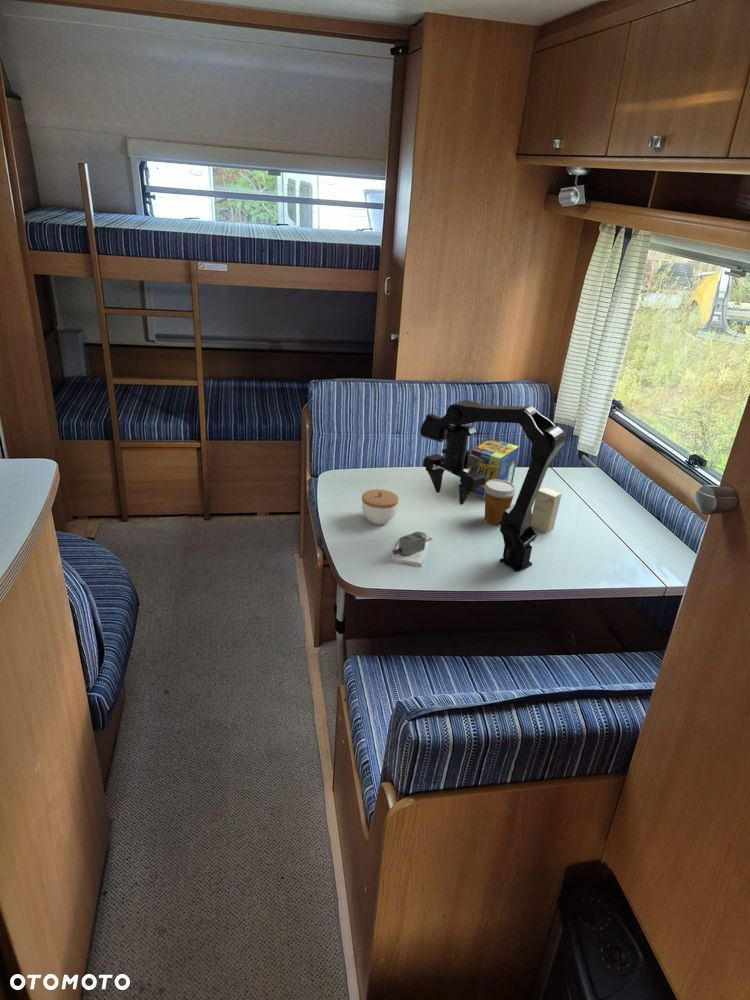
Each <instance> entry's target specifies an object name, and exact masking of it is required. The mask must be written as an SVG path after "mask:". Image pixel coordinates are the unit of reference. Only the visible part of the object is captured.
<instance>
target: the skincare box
mask: <svg viewBox="0 0 750 1000" xmlns="http://www.w3.org/2000/svg"><path fill="white" fill-rule="evenodd" d="M562 495H563V493H562V492H559V491H557V490H554V489H552V488H549V487H547V486H543V487H540V489H539V491H538V494H537V496H536V499H535V501H534V504H533V507H532V508H533V509H532V519H531V526H532V528H533V529H536V530H539V531H541V532H543V533H545V532H546V533H549V532H551V531H552V530H554V528H555V524H556V520H557V515H558V512H559V506H560V502H561V499H562Z"/></svg>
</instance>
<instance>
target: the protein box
mask: <svg viewBox="0 0 750 1000" xmlns="http://www.w3.org/2000/svg"><path fill="white" fill-rule="evenodd" d="M519 450H520V446H518V445H515V444H511V443H508V442H505V441H501V440H498V439H494V438H490V439H488V440H487V441H484V442H483V443H481V444H479V445H478V446H476V447H475V448H473V449H471V451H470V454H472V455H475V456H477V457H479V458H480V460H479V462H478V465H477V468H474V467H470V466H469V469H468V471H467V472H471V471H476V472H478V473H481V474H483V475H484V476H485V483H484V485H481V486H478V487H475V488H473V489H472V490H471V492H470V493H469V495H472V496H474V497H477V498H481V499H484V500H485V489H484V486H485V485H486V483H487V482H488V481H489V480H495V479H496V480H505V481H508V482H510V483H512V484H513V482H514V477H515V473H516V466H517V460H518V454H519Z"/></svg>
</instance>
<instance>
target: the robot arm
mask: <svg viewBox="0 0 750 1000" xmlns="http://www.w3.org/2000/svg"><path fill="white" fill-rule="evenodd" d="M478 422H480V423H481V422H483V423H502V424H503V423H505V424H519V426H521V428H522V430H523V431H524V434H525V436H526V438H527V439H528V440H529V441H530V442H531V443H532V445H531V450H530V451H531V452H530V454H531V462H530V464H529V467H528V469H527V472H526V474H525V477H524V480H523V483H522V485H521V488H520V490H519V493H518V494H517V495H518V496H517V498H516V501H515V503H514V504H511V506H510V507H509V508H508V509H507V510H505V511H504V513H503V517H502V520H501V522H500V523H499V524H501V525H499V526H500V527H499V531H500V534H501V535H502V538H503V543H504V546H503V552H502V558H500V559H499V562H500V563H502V564H503V565H505V566H507V567H508V568H511V569H512V570H514V571H516V572H520V571H522V570H525V569H526V568H529V567H530V566H533V562H531V561H530V559H531V555H532V549H533V546H532V545H531V543H532V542H534V541H535V540H536V538H537V537H538V534H537V533H536V531H535V530H534V527H532V526H531V519H532V512H533V509H532V508H533V507H534V503H535V499H536V496H537V494H538V491H539V489H540V488H541V486H542V483H543V481H544V479H545V475H546V474H547V472H548V468H549V465H550V464H551V462H552V461H553V460H554V458H555V457H556V456H557V455H558V453H559V452H560V450H561V449H562V448H563V445H564V444H565V442H566V438H567V435H566V434H565V432H564V430H563V429H562V428H561V427H559V426H556V425H555V423H554V422H552V420H550V419H549V418H548V417H546V416H545V415H543V414H542V413H540V412H539V411H538V410H537V409H536V408H535V407H534V406H531V405H526V406H519V405H516V406H515V405H514V406H513V405H485V404H481V403H479V402H478V401H474V400H473V401H472V400H469V399H464V400H463V399H462V400H459V401H458V402H455V403H452V404H450V405H449V406H448V407H447V410H446V413H445V415H443V416H439V415H436V414H433V413H428V414H426V415H425V419H424V420H423V422H422V425H421V426H420V430H419V431H420V432H419V433H420V436H421V437H422V438H425V439H428V440H432V441H435V442H439V443H442V442H443V441H445V448H442V449H441V453H442V454H444V456H443V455H440V454H438V453H434V454H430V455H428V456H427V455H426V456H425V457H424V458H423V461H422V467H424V468H425V471H427V473H428V476H429V477H430V480H431V482H432V485H433V487H434V490H435V493H436V494H439V493H440V492H441V490H442V489H441V488H442V482H443V475H444V473H445V472H448V473H450V474H452V475H455V476H457V477H459V478H460V479H459V482H460V484H458V499H459V500H458V501H459V505H460V506H462V505H464V504H465V502H466V501H467V498H468V497H469V495H470V494H469V493H470V492H471V490H472V489H473V488H475V487H478V486H481V485H484V483H485V476H484V475H483V474H481V473H478V472H476V471H471V472H468V471H464V470H469V466H470V467H474V468H477V465H478V462H479V460H480V458H479V457H477V456H475V455H472V454H471V451H470V450H468V441H469V437H471V436H473V435H476V434H477V433H478V432H477V430H476V429H475V427H473V425H472V424H473V423H478ZM468 424H469V425H468ZM466 425H467V426H466Z"/></svg>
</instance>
